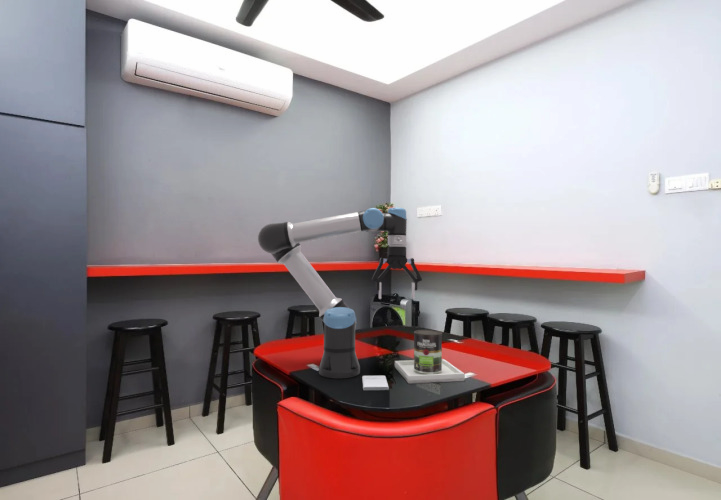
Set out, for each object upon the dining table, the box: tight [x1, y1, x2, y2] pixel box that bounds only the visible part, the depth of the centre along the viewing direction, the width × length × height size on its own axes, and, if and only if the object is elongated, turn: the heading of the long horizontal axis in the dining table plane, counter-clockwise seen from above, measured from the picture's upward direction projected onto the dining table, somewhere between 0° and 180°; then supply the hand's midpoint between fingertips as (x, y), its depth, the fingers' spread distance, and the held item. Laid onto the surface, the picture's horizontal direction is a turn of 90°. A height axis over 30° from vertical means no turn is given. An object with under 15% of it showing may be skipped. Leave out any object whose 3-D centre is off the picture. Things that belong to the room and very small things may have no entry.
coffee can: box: [413, 329, 443, 374], centre depth 145 cm, size 10×10×14 cm
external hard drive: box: [361, 375, 390, 391], centre depth 133 cm, size 2×8×12 cm
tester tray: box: [394, 358, 466, 384], centre depth 145 cm, size 20×20×2 cm
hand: (396, 298), depth 160 cm, fingers open, 13 cm apart
